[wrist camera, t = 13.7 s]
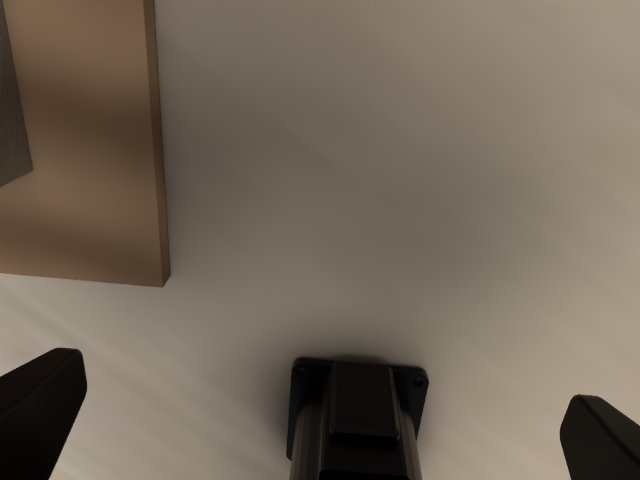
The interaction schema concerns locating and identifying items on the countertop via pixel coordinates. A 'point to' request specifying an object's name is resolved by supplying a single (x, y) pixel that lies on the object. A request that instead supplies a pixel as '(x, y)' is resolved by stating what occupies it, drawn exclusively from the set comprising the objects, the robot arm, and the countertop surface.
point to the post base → (87, 144)
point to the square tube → (11, 115)
